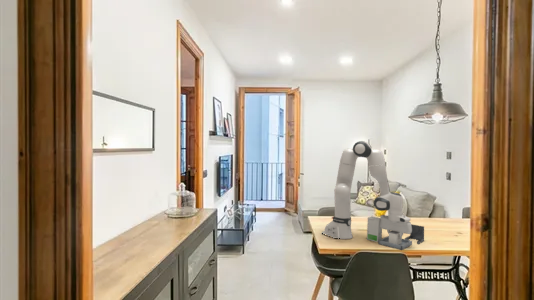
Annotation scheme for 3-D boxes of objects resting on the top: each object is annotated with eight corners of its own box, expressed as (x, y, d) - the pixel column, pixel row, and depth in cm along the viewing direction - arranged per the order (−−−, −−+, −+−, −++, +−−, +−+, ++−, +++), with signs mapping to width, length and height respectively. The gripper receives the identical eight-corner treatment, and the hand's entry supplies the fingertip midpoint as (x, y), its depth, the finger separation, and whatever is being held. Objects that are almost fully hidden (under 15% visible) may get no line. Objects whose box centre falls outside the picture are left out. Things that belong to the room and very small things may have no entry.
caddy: (388, 243, 199) (388, 231, 199) (393, 241, 205) (394, 229, 205) (396, 245, 196) (396, 233, 196) (401, 243, 201) (401, 231, 201)
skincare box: (366, 239, 210) (366, 217, 210) (371, 237, 215) (371, 215, 215) (378, 242, 205) (378, 219, 204) (382, 240, 209) (382, 217, 209)
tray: (378, 244, 201) (378, 240, 201) (388, 239, 211) (388, 235, 211) (402, 250, 189) (402, 246, 189) (412, 244, 200) (412, 240, 200)
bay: (404, 241, 207) (404, 226, 207) (410, 238, 214) (410, 224, 214) (418, 244, 201) (418, 229, 200) (424, 241, 208) (424, 226, 208)
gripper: (378, 215, 206) (378, 235, 206) (409, 220, 191) (408, 242, 191) (382, 213, 210) (382, 233, 210) (412, 218, 195) (412, 240, 195)
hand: (395, 237), depth 200 cm, fingers closed on caddy, 5 cm apart
